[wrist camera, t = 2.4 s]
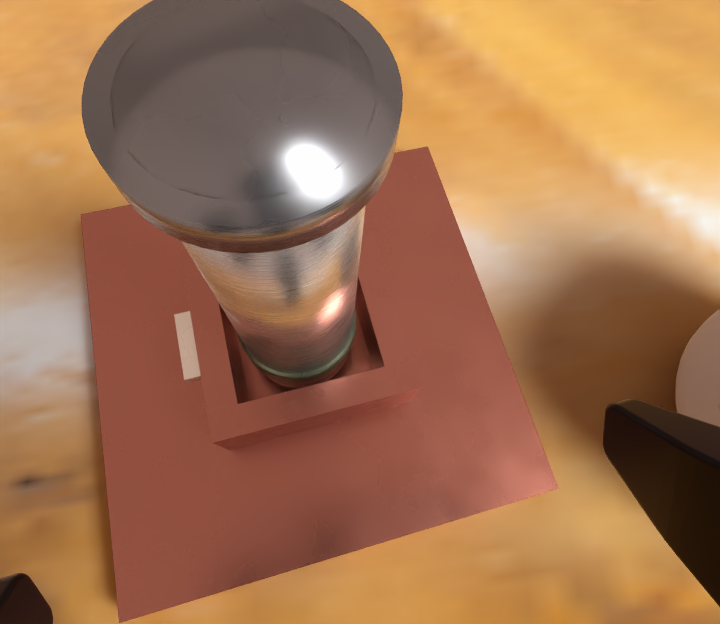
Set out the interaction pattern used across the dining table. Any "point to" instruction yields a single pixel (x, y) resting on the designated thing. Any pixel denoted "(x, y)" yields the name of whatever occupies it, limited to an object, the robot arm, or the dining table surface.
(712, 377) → the teacup
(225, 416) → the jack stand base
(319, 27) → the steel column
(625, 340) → the dining table surface
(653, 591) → the dining table surface
